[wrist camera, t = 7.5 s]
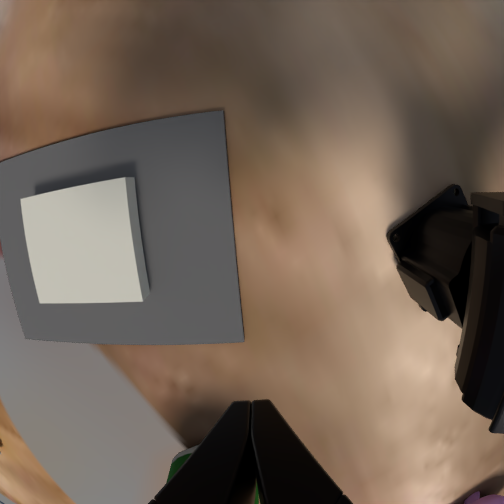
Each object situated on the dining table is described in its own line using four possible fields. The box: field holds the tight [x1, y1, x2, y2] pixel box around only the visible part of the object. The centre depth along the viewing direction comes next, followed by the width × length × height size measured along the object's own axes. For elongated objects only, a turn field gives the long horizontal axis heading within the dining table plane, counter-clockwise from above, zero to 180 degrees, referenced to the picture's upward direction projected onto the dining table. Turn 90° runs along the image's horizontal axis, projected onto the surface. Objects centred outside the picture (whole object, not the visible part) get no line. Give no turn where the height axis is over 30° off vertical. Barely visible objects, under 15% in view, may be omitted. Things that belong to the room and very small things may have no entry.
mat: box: [0, 110, 244, 345], centre depth 18 cm, size 18×14×1 cm
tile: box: [20, 177, 150, 303], centre depth 17 cm, size 2×7×8 cm
